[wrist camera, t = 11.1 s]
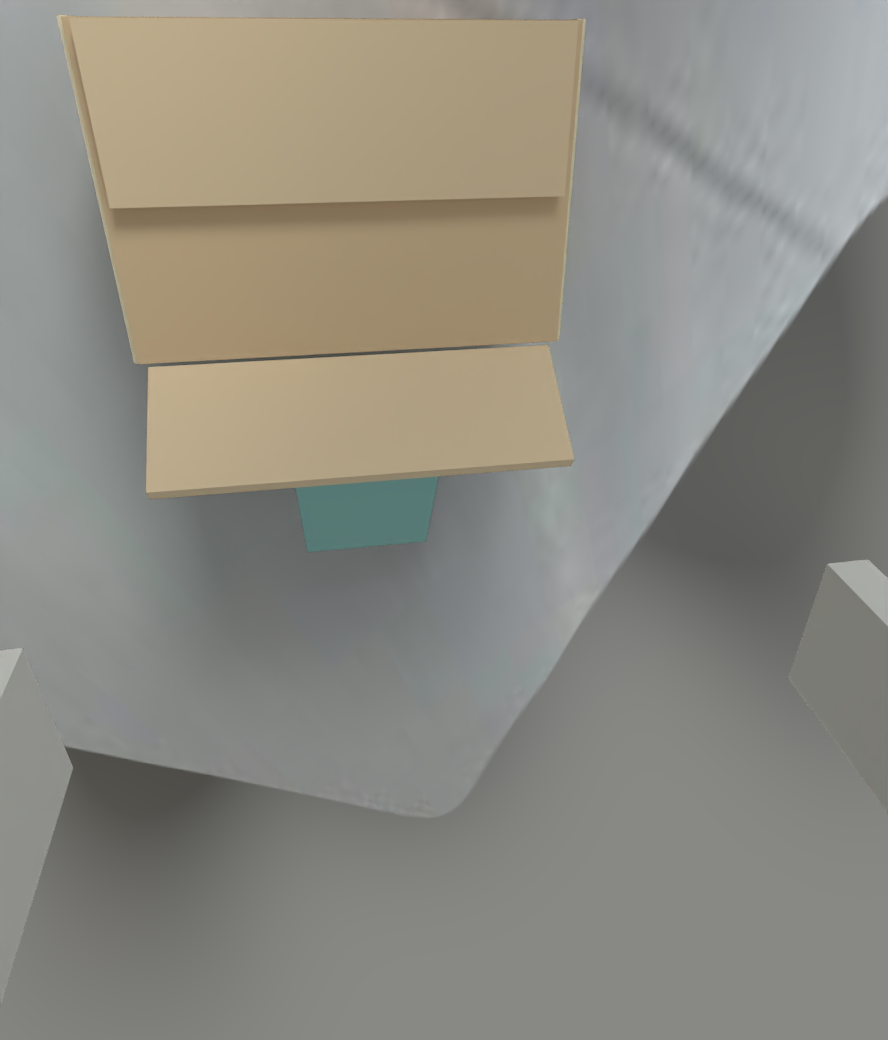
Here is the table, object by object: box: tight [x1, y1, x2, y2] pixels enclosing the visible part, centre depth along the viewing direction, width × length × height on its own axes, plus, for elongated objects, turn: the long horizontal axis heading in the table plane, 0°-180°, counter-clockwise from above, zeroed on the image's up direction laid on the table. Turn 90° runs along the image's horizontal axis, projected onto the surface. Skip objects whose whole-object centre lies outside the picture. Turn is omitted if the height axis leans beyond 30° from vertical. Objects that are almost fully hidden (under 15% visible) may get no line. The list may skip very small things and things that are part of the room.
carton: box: [56, 15, 586, 364], centre depth 33 cm, size 12×18×10 cm, turn 90°
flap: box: [146, 345, 574, 552], centre depth 35 cm, size 6×17×9 cm
